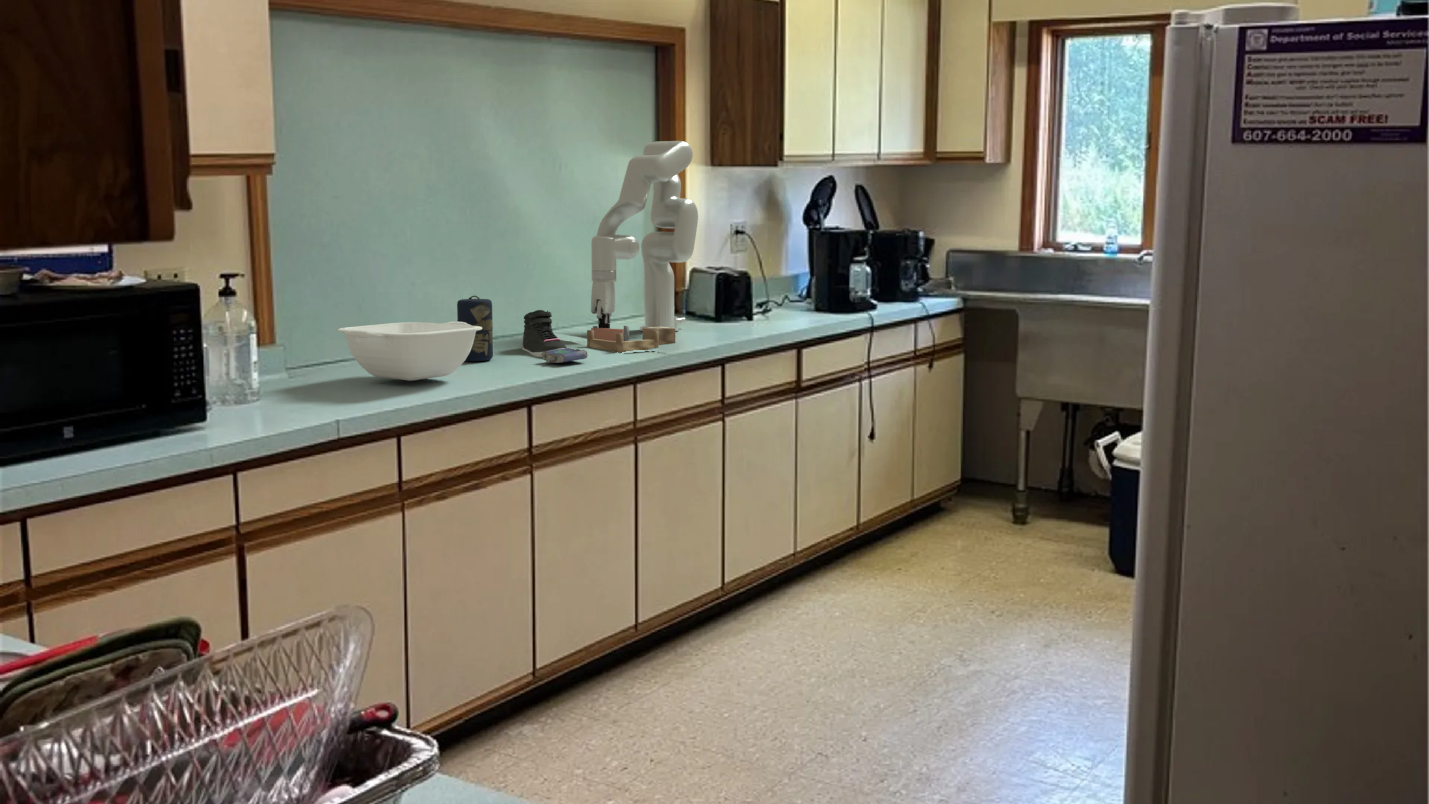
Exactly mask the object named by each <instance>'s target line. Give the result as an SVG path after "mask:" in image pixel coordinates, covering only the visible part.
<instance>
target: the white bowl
mask: <svg viewBox="0 0 1429 804" xmlns="http://www.w3.org/2000/svg"><path fill="white" fill-rule="evenodd" d="M481 329H482V327H480V326H471V325H469V324H467V323H465V322H458V321H448V322H441V323H440V322H427V321H423V322H422V321H421V322H420V321H407V322H406V321H405V322H390V323H381V324H369V325H358V326H349V327H348V326H346V327H340V328H338V329H337V331H338V332H339V333H344V337H345V340H346V343H347V346H348V349H349V351H350V353H351V355H352V356H353V358H354V359H355V361H356V363H358V365H359V366H361V368H362V369H364V370H365V371H366V372H367V373H368V374H370V375H371V376H373V377H376V378H383V379H393V380H402V381H403V380H404V381H419V380H425V379H432V378H441V377H446V376H449V375H451V374H453V373H454V372H455V371H456V370H458V368H460V367H461V366H462V365H463V364H464V362H466V361H465V360H466V358H467V356H468V355H469V353H470V351H471V348H472V345H473V342H474V338H475V334H476V331H477V330H481Z"/></svg>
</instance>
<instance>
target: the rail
mask: <svg viewBox="0 0 1429 804" xmlns="http://www.w3.org/2000/svg"><path fill="white" fill-rule="evenodd" d="M590 330H594V339H600V340H609V341H616V333H623V341H630V325H623V328H610V329H609V328H598V325H593V326H592V327H591V328H590Z"/></svg>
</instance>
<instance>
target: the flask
mask: <svg viewBox="0 0 1429 804" xmlns="http://www.w3.org/2000/svg"><path fill="white" fill-rule="evenodd" d="M588 356H589V355H588V351H587V350H585V349H579V348H577V349H574V348H570V347H567V348H565V349H559V350H552V351H545V352H543V353H542V359H543V360H544V361H545V362H546V363H547V364H549V363H552V364H560V363H561V364H562V363H567V362H568V363H569V362H573V361H578V360H585V359H587V358H588Z"/></svg>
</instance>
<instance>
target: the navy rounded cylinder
mask: <svg viewBox="0 0 1429 804" xmlns="http://www.w3.org/2000/svg"><path fill="white" fill-rule="evenodd" d="M456 303H457V304H456V311H457V313H456V315H457V321H456V322H465V323H467V324H469V325H471V326H480V327H482V329H481V330H477V331H476V334H475V338H474V342H473V345H472V348H471V351H470V353H469V355H468V356H467V358H466V360H465V361H464V362H475V363H476V362H481V361H482V362H483V361H484V362H485V361H489V360H492V359H493V357H494V341H493V339H494V338H493V334H494V333H493V328H494V326H493V325H494V324H493V303H492V300H491V299H489V298H480V297H479V296H477V295H472V296H470V297H469V298H464V299H463V298H462V299H459V300H458V301H457V302H456Z"/></svg>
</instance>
